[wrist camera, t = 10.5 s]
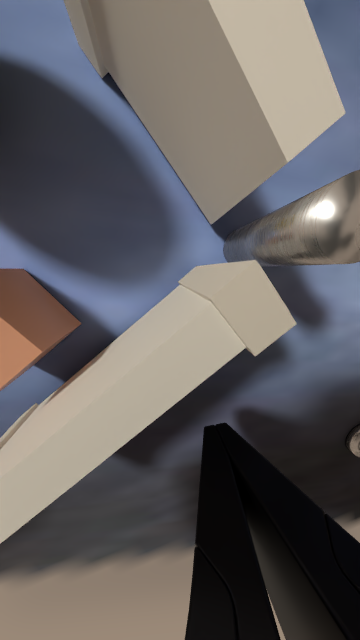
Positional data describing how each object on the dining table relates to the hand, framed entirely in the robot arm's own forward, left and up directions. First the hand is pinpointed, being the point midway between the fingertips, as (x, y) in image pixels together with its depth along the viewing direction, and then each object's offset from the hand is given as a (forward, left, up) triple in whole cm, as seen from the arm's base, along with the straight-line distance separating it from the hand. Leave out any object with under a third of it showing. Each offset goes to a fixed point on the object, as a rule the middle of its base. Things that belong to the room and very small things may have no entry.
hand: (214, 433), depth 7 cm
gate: (+2, -4, -2) cm, 5 cm away
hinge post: (-6, -4, -3) cm, 8 cm away
